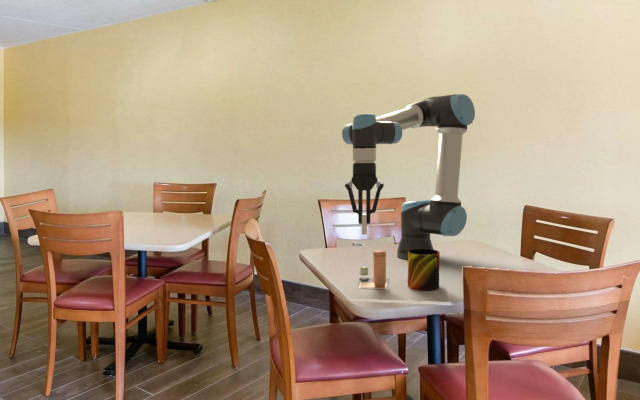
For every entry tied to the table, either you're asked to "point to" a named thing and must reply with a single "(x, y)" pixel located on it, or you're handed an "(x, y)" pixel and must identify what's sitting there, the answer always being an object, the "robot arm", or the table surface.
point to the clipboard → (371, 284)
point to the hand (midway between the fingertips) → (364, 233)
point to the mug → (423, 269)
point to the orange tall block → (379, 268)
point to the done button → (363, 270)
